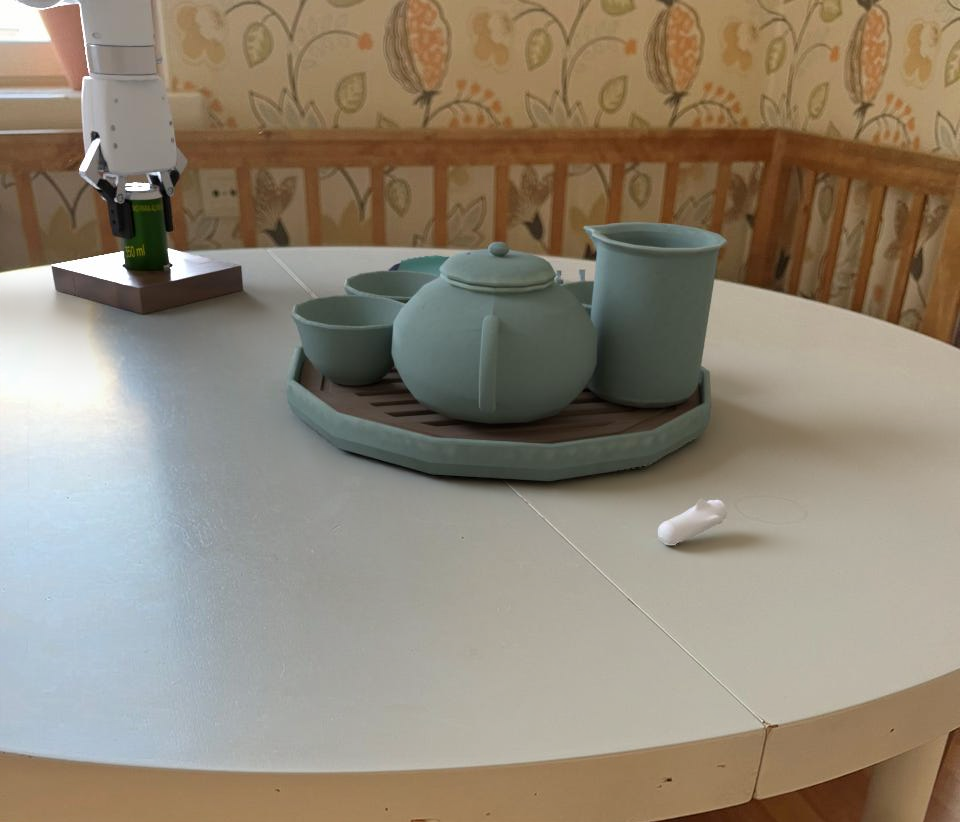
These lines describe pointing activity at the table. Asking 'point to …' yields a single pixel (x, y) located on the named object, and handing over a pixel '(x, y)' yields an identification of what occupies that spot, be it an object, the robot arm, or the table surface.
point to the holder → (147, 281)
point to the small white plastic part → (692, 521)
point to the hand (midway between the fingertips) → (143, 232)
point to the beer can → (146, 229)
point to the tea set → (516, 359)
